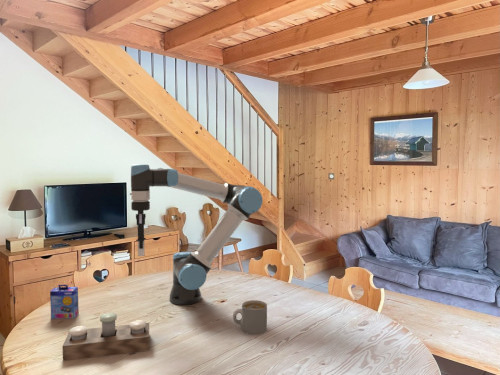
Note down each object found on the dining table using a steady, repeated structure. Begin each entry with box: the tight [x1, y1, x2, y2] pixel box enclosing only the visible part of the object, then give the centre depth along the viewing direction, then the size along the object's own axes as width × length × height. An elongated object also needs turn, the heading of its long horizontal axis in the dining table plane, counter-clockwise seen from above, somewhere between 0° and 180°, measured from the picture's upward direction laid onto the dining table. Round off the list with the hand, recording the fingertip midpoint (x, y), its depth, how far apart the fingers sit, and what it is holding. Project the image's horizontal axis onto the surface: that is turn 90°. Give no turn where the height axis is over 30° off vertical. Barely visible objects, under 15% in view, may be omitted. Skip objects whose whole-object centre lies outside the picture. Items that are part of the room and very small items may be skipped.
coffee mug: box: [232, 299, 268, 336], centre depth 151 cm, size 13×10×10 cm
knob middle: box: [99, 312, 118, 337], centre depth 136 cm, size 6×6×7 cm
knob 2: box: [129, 319, 147, 334], centre depth 138 cm, size 6×6×7 cm
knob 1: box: [69, 325, 88, 341], centre depth 133 cm, size 6×6×7 cm
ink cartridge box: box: [49, 284, 80, 320], centre depth 162 cm, size 10×6×14 cm, turn 95°
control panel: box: [61, 322, 150, 361], centre depth 136 cm, size 28×12×5 cm, turn 105°
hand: (141, 255), depth 162 cm, fingers closed
